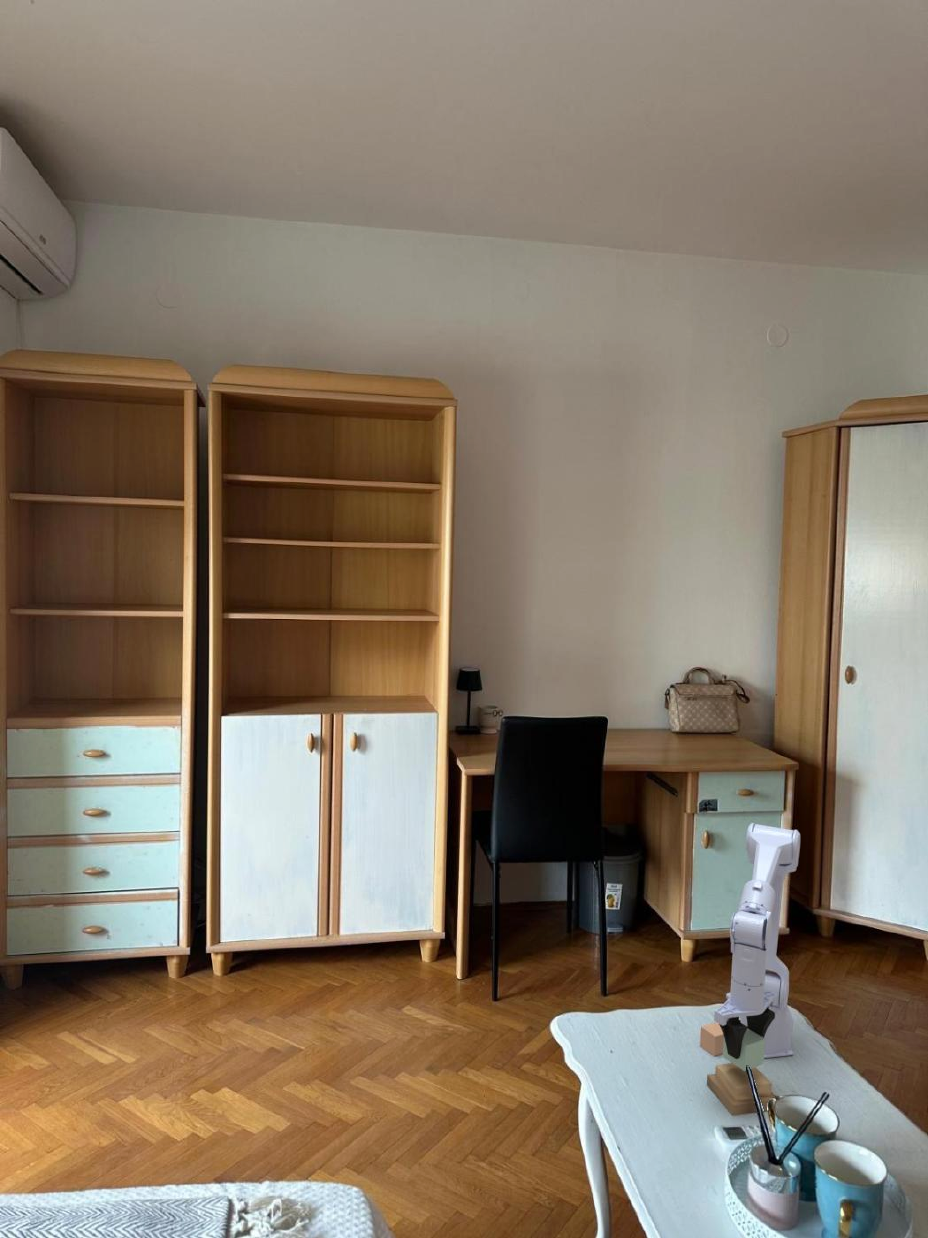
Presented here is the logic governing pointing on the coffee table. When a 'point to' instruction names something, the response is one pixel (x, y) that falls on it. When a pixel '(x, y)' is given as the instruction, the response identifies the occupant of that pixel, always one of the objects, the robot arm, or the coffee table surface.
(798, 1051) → the coffee table surface
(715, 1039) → the terracotta cube
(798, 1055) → the coffee table surface
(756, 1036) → the sage cube
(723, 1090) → the slab bottom
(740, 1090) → the slab top
